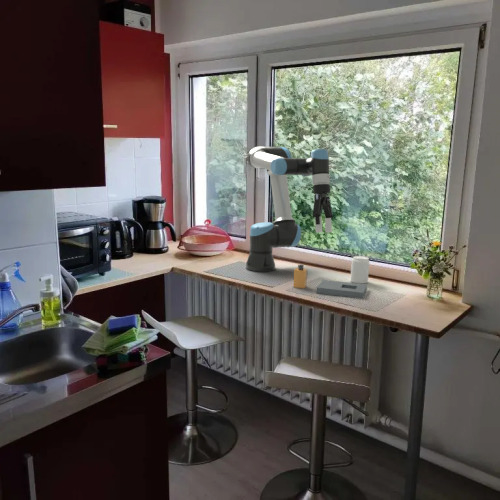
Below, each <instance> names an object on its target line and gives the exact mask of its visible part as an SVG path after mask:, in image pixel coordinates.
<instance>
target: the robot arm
mask: <svg viewBox="0 0 500 500" xmlns="http://www.w3.org/2000/svg"><path fill="white" fill-rule="evenodd" d="M246 158H247V162H248V165H250V167H252V168H254V169H260V170H261V169H262V170H266V174H268V176H270V183H271V193H272V200H273V208H274V218H275V220H274V221H273V222H270V221H269V222H268V221H266V222H257V223H254V224H252V225H251V226H250V230H249V254H248V257H247V260H246V262H245V263H246V264H245V269H246V270H249V271H253V272H272V271H274V270H276V262H275V259H274V256H273V249H274V248H275V249H277V248H292V247H296V246H298V245H299V243H300V240H301V238H302V228H301V226H300V225H299V224H298V223H296V219H295V218H293V214H292V207H291V201H290V200H291V198H290V193H289V184H288V177H287V176H289V175H290V176H302V177H310V176H312V179H311V180H312V185H313V186H312V192H313V194H314V195H313V196H314V200H313V201H314V202H313V209H312V218H314V223H315V224H314V225H315V227H314V228H315V233H322V232H323V220H322V218H323V217H322V211H323V213H324V216H325V217H324V226H325V233H327V234H328V233H332V232H333V229H332V228H333V227H332V219H333V218H334V215H333V210H332V205H331V200H330V199H331V198H330V195H329V196H328V194H330V193H331V186H330V182H331V181H330V179H331V175H330V160H329V159H330V158H329V152H328V150H327V149H326V148H317V149H313V150H311V153H310V157H309V158H308V157H307V158H295V157H294V158H292V154H291V152H290V150H289V149H288V148H287V147H285V146H264V145H263V146H255V147H253V148H252V149H251V150H250V151H249V152H248V154H247V157H246Z"/></svg>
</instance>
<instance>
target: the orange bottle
mask: <svg viewBox="0 0 500 500" xmlns="http://www.w3.org/2000/svg"><path fill="white" fill-rule="evenodd" d="M297 265H298V266H297V267H295V268H294V269H293V287H292V288H297V289H305V288H306V287H307V282H308V281H307V277H308V276H307V275H308V269H307V268H304V264H297Z"/></svg>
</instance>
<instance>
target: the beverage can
mask: <svg viewBox="0 0 500 500" xmlns="http://www.w3.org/2000/svg"><path fill="white" fill-rule="evenodd" d="M369 259H370V258H369V257H367V256H364V255H353V256H352V259H351V266H350V283H357V284H367V283H368V281H369V274H370V273H369V272H370V260H369Z"/></svg>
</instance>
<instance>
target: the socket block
mask: <svg viewBox="0 0 500 500" xmlns="http://www.w3.org/2000/svg"><path fill="white" fill-rule="evenodd" d="M366 290H368V284H367V283H365V284H357V283H353V282H347V281H339V280H337V281H336V280H330V279H329V280H328V279H322V280H321V282H320V283H319V284H318V285H317V286H316V289H315V291H316V294H320V295H321V294H323V295H331V296H337V297H338V296H339V297H346V296H347V297H346V298H348V297H349V298H354V297H356V298H357V299H362V298H363V299H364V297H365V295H366V292H367V291H366ZM356 298H355V299H356Z"/></svg>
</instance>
